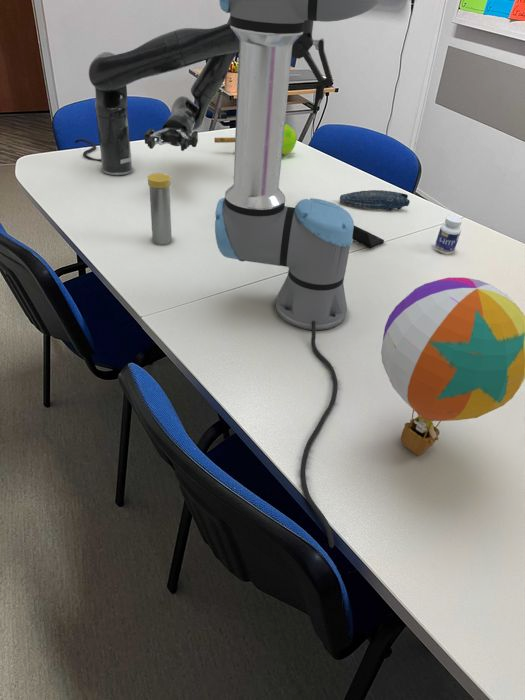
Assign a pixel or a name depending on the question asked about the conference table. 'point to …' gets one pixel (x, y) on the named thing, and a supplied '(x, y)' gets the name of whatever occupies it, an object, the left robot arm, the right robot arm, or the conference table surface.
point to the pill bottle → (448, 235)
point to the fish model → (376, 199)
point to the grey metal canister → (160, 215)
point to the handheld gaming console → (366, 238)
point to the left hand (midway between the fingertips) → (166, 146)
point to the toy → (453, 354)
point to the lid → (159, 180)
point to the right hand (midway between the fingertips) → (288, 109)
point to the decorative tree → (288, 139)
